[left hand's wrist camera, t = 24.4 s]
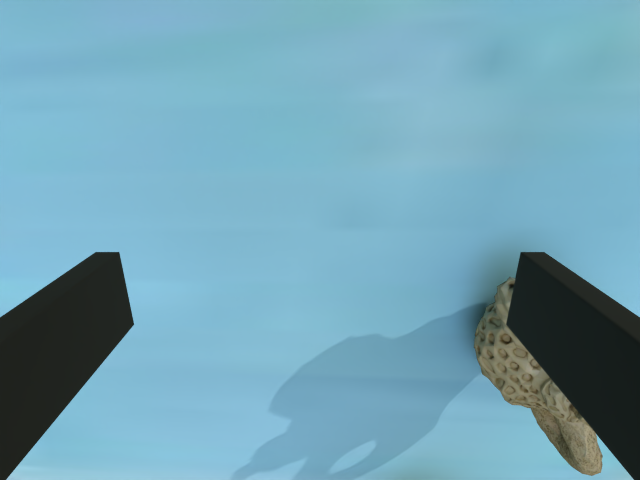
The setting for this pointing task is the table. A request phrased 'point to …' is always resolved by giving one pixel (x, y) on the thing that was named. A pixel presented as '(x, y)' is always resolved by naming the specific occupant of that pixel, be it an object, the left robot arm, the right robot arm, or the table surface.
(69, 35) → the table surface
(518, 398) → the tan lumpy piece
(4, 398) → the left robot arm
